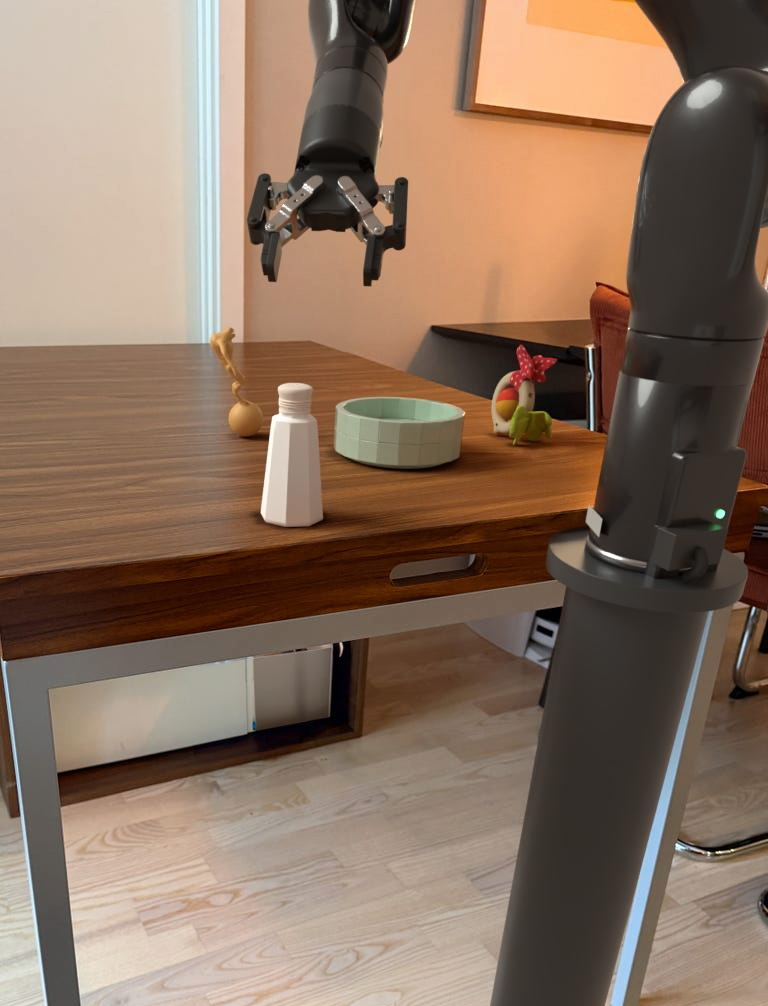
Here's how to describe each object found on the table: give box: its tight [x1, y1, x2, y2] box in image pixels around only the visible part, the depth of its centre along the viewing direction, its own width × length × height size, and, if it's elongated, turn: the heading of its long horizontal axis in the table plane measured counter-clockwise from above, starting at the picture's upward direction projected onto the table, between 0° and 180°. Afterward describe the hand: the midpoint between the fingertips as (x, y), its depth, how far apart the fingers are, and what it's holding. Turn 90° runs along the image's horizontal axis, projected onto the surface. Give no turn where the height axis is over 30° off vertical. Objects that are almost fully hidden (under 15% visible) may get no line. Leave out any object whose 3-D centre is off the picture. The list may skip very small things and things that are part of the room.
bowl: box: [333, 396, 466, 470], centre depth 93 cm, size 14×14×5 cm
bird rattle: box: [491, 344, 558, 446], centre depth 101 cm, size 6×11×9 cm
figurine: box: [209, 326, 264, 438], centre depth 98 cm, size 8×6×12 cm
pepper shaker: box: [260, 382, 324, 528], centre depth 71 cm, size 5×5×11 cm
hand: (318, 277), depth 76 cm, fingers open, 8 cm apart
